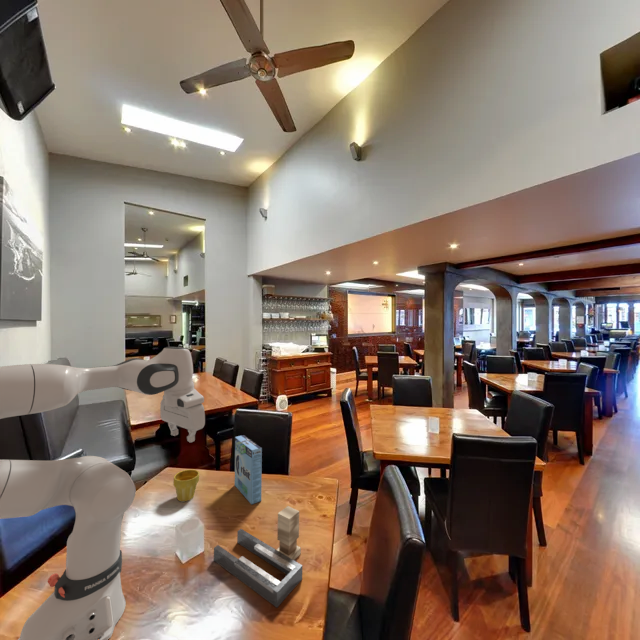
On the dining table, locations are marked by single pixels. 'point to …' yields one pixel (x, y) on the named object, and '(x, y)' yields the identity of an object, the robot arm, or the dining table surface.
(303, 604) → the dining table surface
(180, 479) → the plant pot
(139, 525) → the dining table surface
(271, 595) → the grey slotted frame
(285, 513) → the birch keyhole peg
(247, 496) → the gum box
